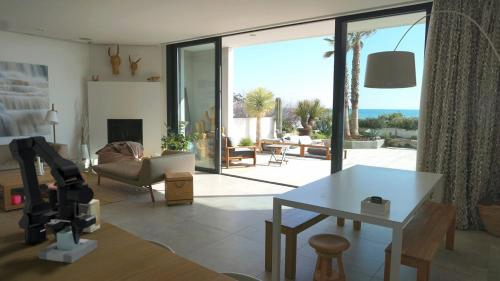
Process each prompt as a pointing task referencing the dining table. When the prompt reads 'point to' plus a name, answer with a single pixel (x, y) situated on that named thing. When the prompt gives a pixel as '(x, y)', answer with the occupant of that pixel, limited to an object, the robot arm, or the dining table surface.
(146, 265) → the dining table surface
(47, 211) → the robot arm
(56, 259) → the socket block
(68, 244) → the plug
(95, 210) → the skincare box
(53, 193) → the coffee jar
